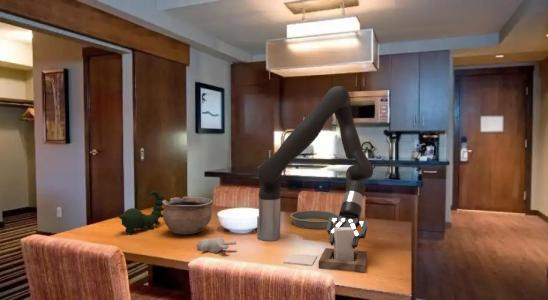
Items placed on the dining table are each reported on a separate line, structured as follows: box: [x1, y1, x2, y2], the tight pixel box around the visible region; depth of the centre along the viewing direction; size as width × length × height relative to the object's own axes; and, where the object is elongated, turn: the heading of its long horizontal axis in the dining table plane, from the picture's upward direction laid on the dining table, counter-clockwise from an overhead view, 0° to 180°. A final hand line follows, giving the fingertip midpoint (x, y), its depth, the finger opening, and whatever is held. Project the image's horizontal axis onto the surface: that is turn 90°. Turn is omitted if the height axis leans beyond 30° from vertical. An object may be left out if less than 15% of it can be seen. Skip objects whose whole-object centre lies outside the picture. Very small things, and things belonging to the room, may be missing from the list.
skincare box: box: [333, 227, 355, 261], centre depth 131 cm, size 6×4×12 cm
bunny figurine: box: [195, 236, 237, 254], centre depth 145 cm, size 10×5×15 cm
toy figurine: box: [117, 190, 165, 235], centre depth 176 cm, size 9×19×25 cm
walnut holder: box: [318, 247, 368, 274], centre depth 131 cm, size 15×15×2 cm
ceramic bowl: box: [162, 196, 213, 236], centre depth 172 cm, size 22×22×15 cm
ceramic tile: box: [283, 252, 318, 267], centre depth 135 cm, size 10×10×1 cm
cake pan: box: [289, 210, 339, 230], centre depth 190 cm, size 25×25×4 cm
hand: (342, 245), depth 130 cm, fingers closed on skincare box, 7 cm apart
